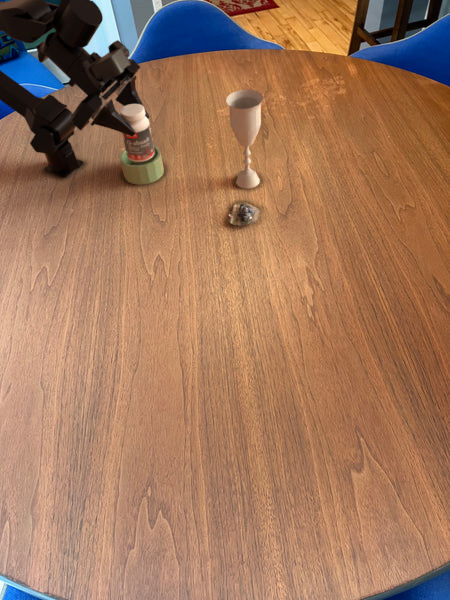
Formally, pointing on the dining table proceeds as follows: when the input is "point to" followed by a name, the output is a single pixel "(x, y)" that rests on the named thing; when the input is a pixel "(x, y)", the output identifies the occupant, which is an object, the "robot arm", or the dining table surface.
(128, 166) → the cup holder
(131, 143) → the pill bottle
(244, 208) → the grey flat irregular piece
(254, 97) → the chalice
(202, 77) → the dining table surface
